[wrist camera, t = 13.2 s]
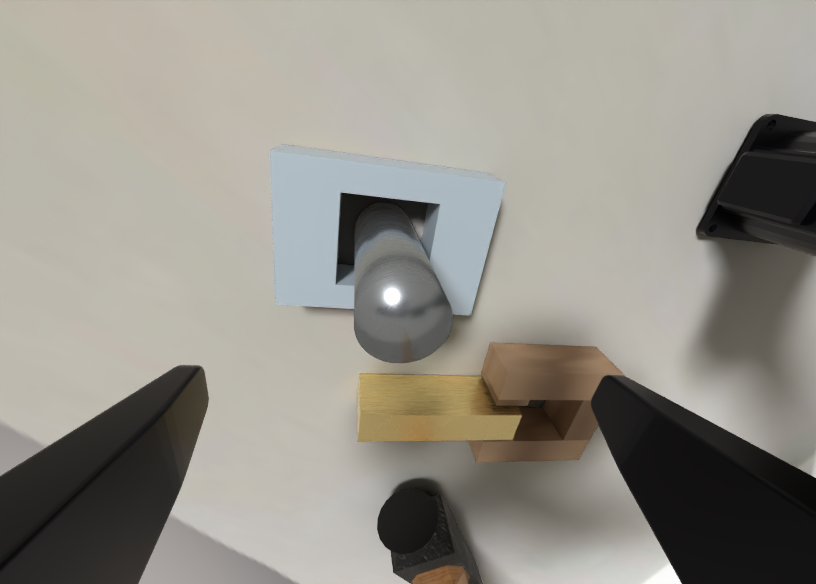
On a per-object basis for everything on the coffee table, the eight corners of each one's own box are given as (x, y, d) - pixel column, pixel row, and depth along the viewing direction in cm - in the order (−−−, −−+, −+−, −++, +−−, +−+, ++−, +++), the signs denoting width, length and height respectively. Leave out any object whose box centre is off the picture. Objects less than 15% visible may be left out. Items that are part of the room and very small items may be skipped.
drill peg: (415, 205, 18) (462, 283, 10) (406, 259, 19) (442, 364, 11) (357, 199, 17) (358, 275, 9) (352, 254, 19) (350, 361, 11)
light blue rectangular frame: (487, 172, 17) (506, 182, 15) (458, 293, 21) (470, 315, 18) (281, 144, 16) (269, 150, 13) (284, 281, 19) (275, 304, 17)
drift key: (501, 376, 24) (522, 415, 21) (493, 399, 25) (512, 439, 22) (359, 373, 23) (360, 415, 19) (357, 398, 24) (357, 442, 20)
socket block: (596, 346, 24) (625, 376, 22) (557, 426, 28) (578, 459, 25) (490, 342, 23) (507, 373, 20) (464, 427, 26) (476, 462, 24)
